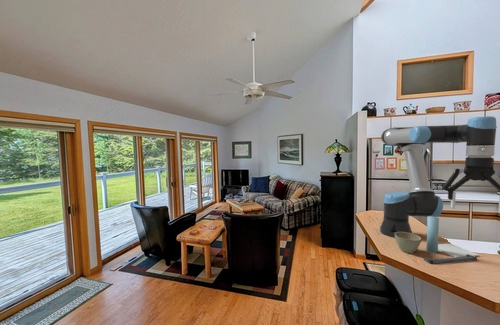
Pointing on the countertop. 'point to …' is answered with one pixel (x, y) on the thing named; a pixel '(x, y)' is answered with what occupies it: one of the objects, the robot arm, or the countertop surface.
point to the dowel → (432, 234)
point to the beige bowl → (407, 241)
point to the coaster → (454, 250)
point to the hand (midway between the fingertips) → (476, 210)
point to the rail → (450, 259)
